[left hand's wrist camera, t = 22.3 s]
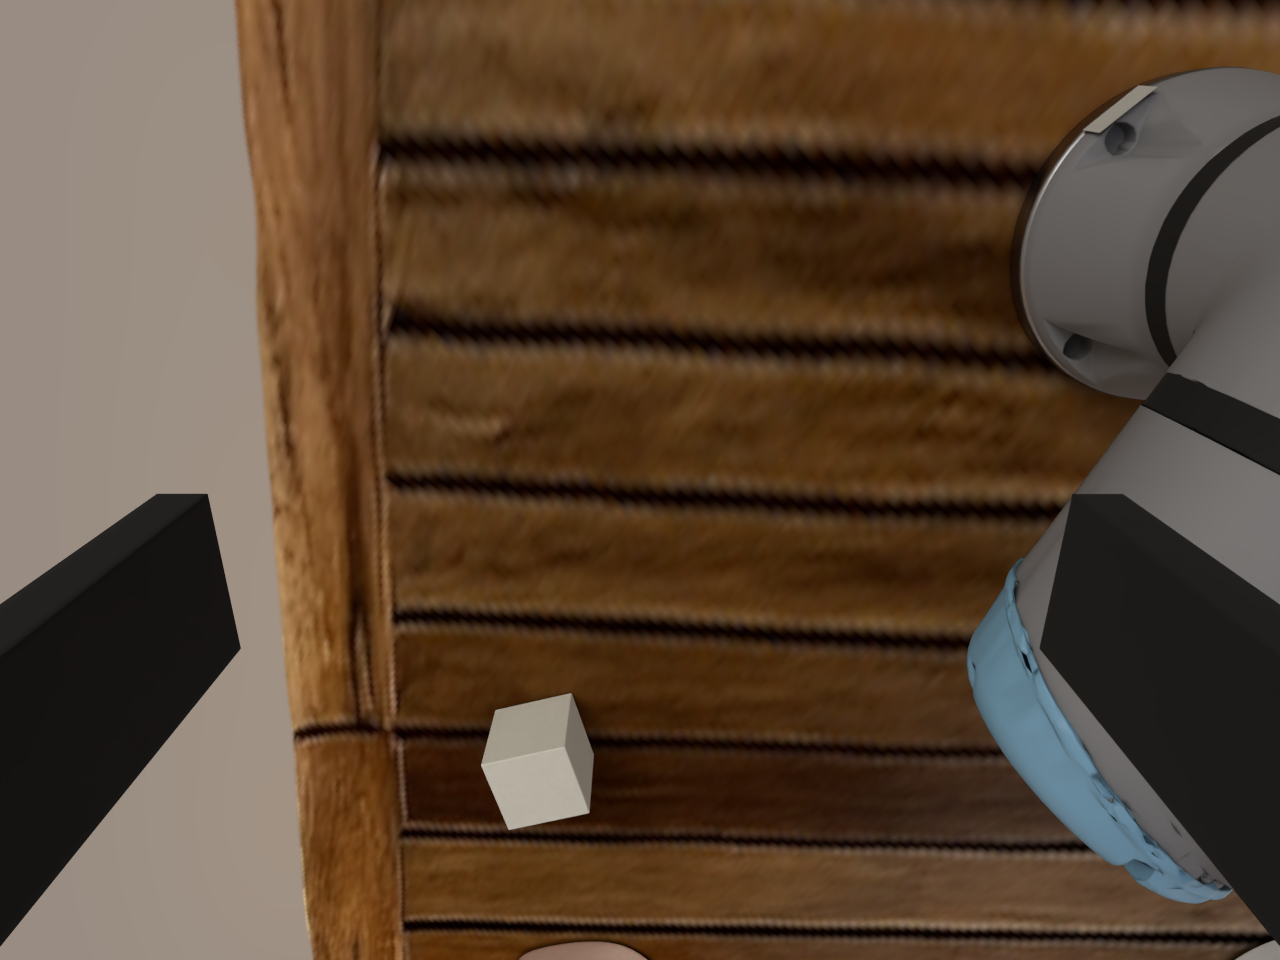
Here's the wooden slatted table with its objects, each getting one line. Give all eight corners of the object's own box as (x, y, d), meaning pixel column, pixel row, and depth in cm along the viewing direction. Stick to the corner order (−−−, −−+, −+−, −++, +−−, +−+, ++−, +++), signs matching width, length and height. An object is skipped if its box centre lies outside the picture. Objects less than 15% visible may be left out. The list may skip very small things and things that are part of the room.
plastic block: (571, 692, 50) (564, 747, 46) (594, 755, 52) (589, 813, 48) (495, 709, 51) (480, 765, 46) (520, 771, 53) (508, 830, 48)
